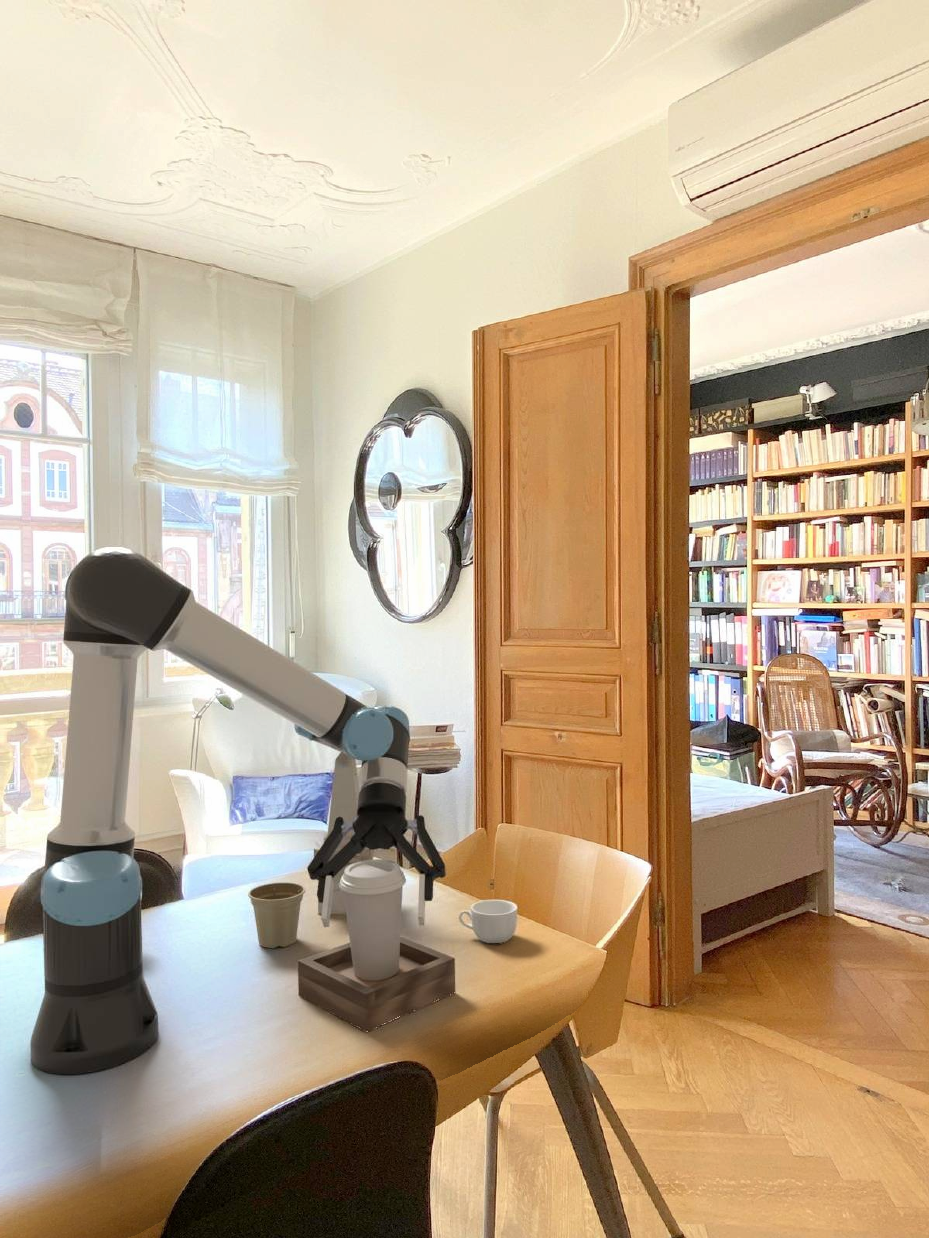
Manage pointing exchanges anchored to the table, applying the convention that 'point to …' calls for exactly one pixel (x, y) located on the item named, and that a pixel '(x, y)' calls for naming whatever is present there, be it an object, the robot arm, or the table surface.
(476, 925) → the teacup
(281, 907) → the flower pot
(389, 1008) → the walnut stand
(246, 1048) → the table surface
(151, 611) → the robot arm
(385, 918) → the coffee cup
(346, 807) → the miniature monument
